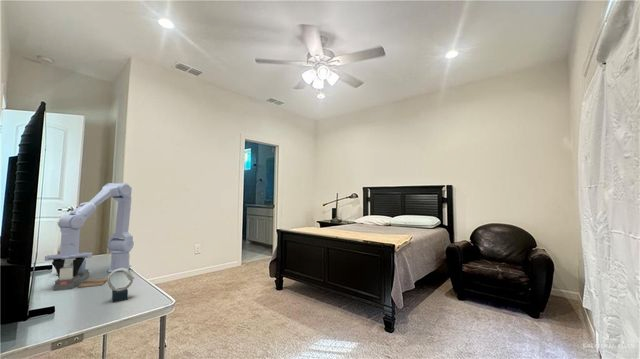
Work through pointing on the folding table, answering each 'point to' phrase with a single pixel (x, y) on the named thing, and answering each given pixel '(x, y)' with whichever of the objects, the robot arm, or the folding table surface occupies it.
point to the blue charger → (82, 267)
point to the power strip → (70, 281)
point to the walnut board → (93, 282)
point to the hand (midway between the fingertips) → (67, 276)
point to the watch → (120, 293)
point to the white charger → (66, 273)
